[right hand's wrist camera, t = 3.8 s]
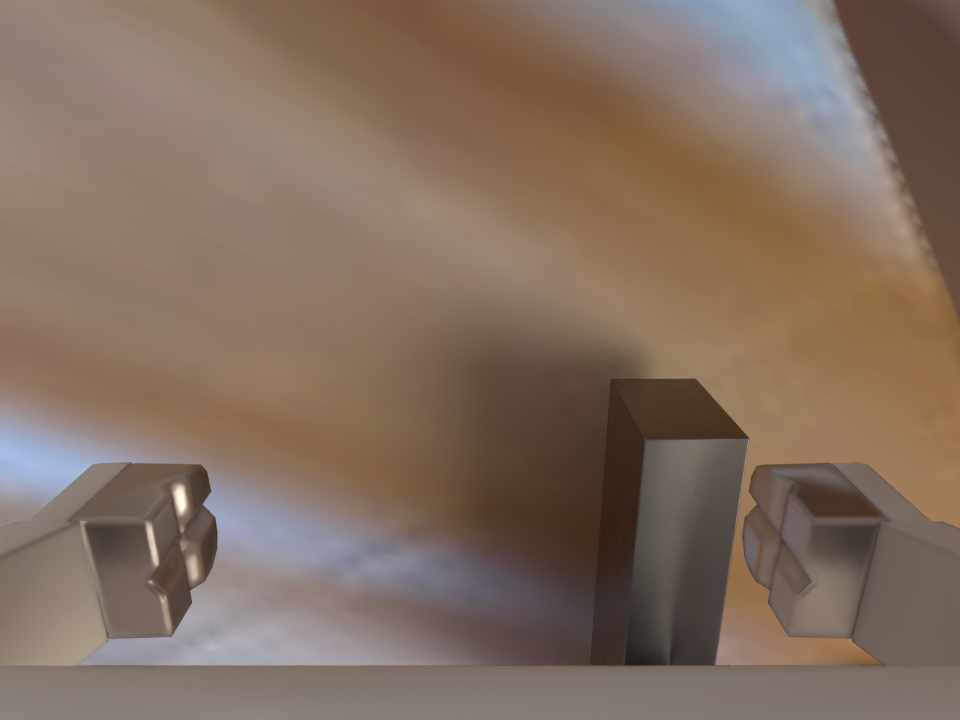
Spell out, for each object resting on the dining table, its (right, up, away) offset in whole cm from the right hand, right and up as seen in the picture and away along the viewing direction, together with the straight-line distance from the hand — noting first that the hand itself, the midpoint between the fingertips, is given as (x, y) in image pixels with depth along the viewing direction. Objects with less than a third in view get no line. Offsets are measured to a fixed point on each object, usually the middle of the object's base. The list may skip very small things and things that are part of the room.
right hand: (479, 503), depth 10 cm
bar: (+10, -12, +33) cm, 37 cm away
